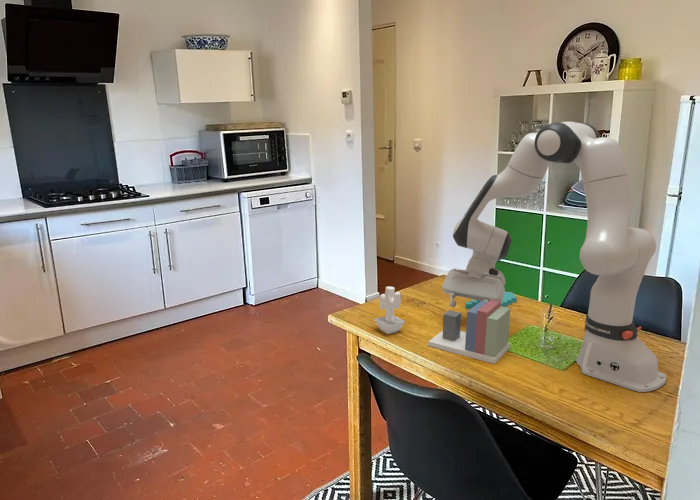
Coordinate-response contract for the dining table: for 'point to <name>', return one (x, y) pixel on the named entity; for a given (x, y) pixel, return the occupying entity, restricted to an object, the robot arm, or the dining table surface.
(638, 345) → the robot arm
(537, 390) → the dining table surface
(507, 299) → the alien figure
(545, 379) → the dining table surface
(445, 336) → the bookend block
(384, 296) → the figurine
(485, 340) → the shelf board
